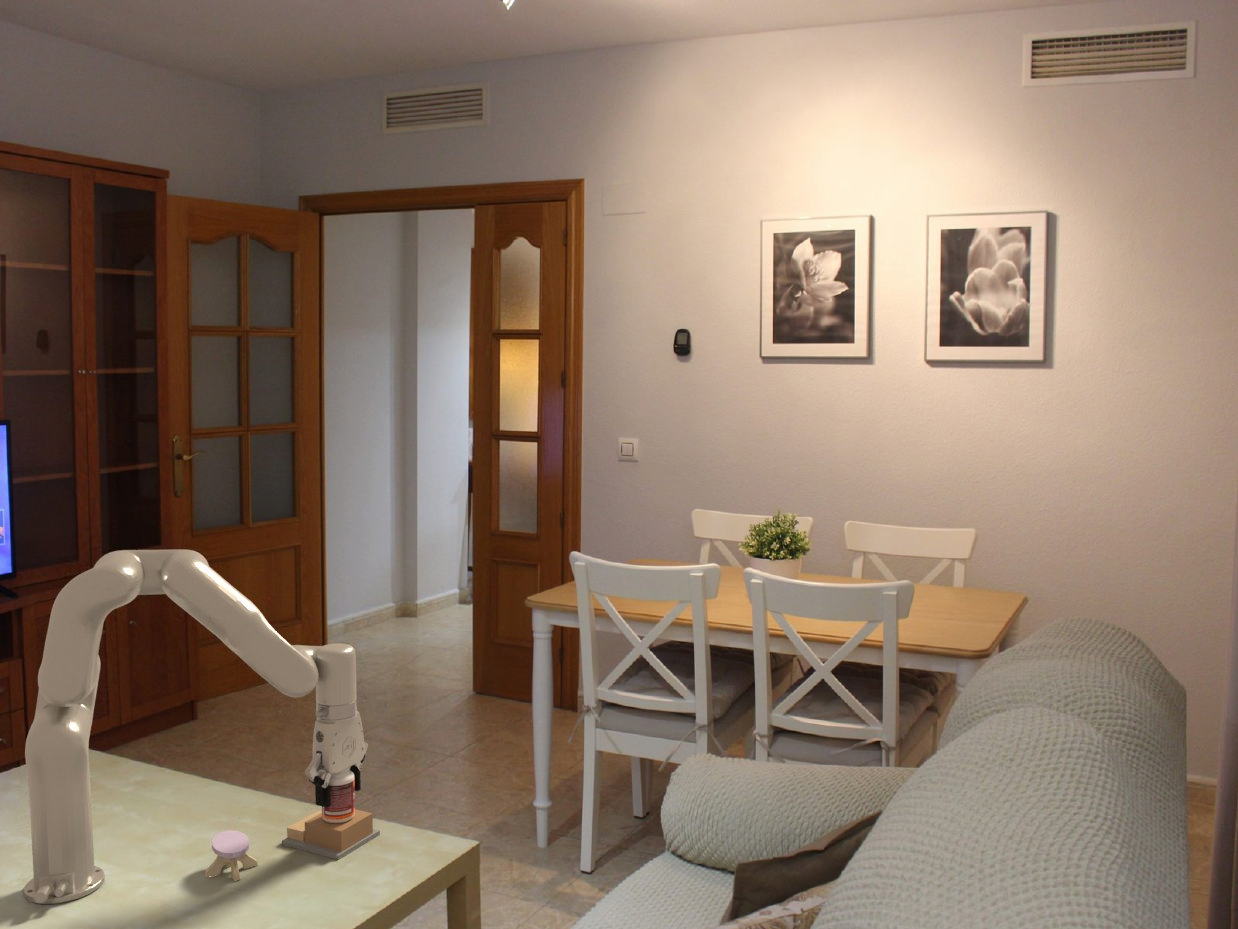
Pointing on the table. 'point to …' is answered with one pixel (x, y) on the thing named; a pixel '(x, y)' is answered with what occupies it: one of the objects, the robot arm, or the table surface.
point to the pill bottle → (340, 797)
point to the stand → (331, 834)
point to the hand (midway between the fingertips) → (338, 797)
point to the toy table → (230, 853)
